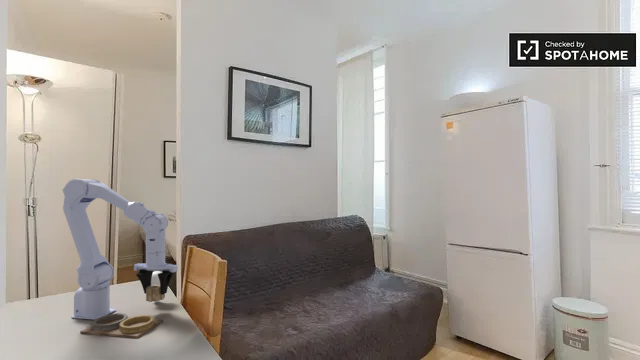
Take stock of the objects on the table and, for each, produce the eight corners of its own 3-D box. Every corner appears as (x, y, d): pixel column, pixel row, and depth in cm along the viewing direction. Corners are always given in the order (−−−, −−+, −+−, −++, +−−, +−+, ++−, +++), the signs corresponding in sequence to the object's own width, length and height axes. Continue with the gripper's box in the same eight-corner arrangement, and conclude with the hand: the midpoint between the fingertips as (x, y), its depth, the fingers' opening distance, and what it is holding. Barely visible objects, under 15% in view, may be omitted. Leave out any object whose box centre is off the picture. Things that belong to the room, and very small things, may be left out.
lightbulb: (158, 306, 113) (158, 274, 113) (142, 304, 114) (142, 273, 114) (169, 299, 119) (169, 269, 119) (154, 298, 120) (155, 268, 120)
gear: (142, 301, 105) (142, 288, 105) (153, 295, 110) (153, 283, 110) (157, 302, 104) (157, 289, 104) (168, 296, 109) (168, 284, 109)
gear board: (80, 333, 92) (80, 326, 92) (111, 317, 103) (111, 311, 103) (137, 338, 89) (137, 330, 89) (163, 321, 100) (163, 314, 100)
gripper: (182, 249, 110) (182, 290, 110) (144, 248, 112) (144, 288, 112) (169, 254, 103) (169, 297, 103) (129, 252, 105) (129, 294, 105)
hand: (155, 293), depth 107 cm, fingers closed on gear, 5 cm apart
